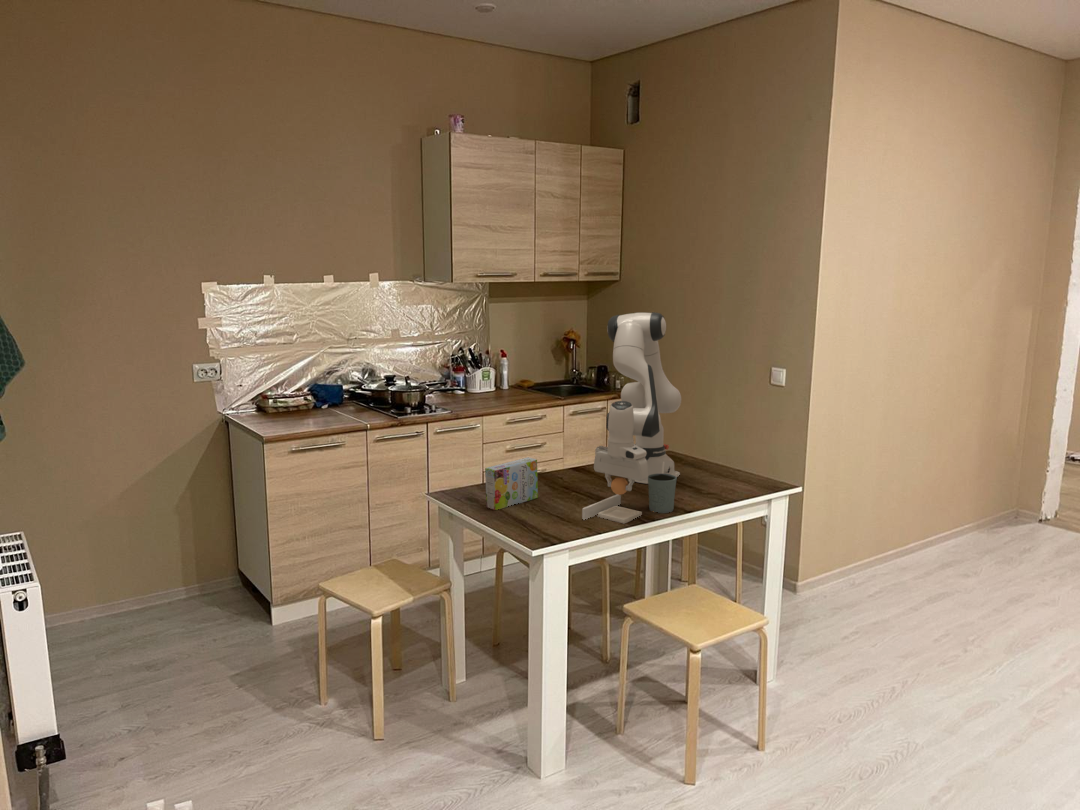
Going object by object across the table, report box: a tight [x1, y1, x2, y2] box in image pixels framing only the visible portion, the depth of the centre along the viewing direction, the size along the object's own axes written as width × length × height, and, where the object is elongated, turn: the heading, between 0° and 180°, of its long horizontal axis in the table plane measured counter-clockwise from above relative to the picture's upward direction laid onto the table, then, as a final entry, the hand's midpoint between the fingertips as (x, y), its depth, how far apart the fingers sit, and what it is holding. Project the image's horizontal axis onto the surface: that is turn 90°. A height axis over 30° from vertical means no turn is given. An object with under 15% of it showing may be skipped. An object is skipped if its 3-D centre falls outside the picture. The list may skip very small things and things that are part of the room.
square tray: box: [597, 505, 643, 525], centre depth 280 cm, size 11×11×1 cm
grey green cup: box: [647, 474, 678, 514], centre depth 286 cm, size 10×10×12 cm
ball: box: [610, 476, 629, 496], centre depth 278 cm, size 6×6×6 cm
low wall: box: [581, 494, 622, 521], centre depth 284 cm, size 22×1×4 cm, turn 141°
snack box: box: [484, 457, 539, 511], centre depth 294 cm, size 21×6×15 cm, turn 134°
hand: (619, 488), depth 278 cm, fingers closed on ball, 6 cm apart
